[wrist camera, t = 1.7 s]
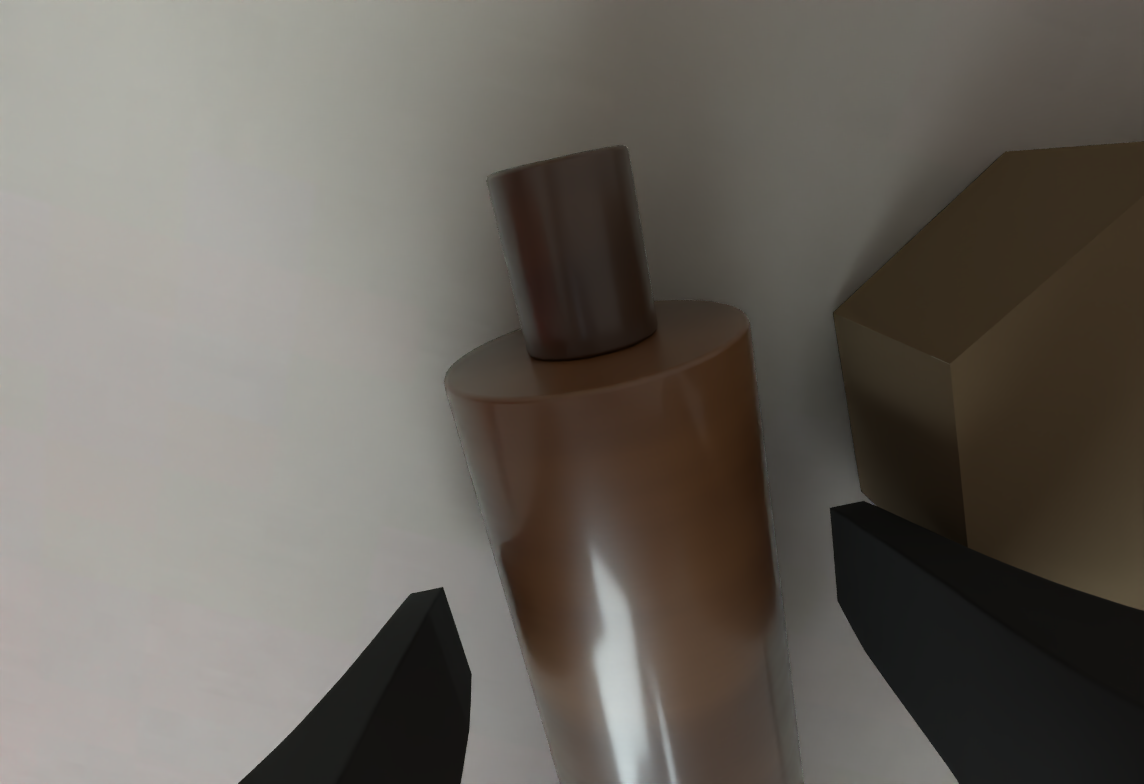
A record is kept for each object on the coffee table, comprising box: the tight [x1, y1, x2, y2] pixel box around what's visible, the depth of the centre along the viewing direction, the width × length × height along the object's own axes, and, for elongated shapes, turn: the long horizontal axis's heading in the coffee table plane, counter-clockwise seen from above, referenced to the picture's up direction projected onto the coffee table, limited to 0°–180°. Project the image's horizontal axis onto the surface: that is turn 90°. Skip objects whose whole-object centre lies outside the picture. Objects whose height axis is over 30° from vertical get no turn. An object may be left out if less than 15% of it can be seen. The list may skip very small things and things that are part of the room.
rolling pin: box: [444, 145, 804, 784], centre depth 11 cm, size 15×5×5 cm, turn 12°
